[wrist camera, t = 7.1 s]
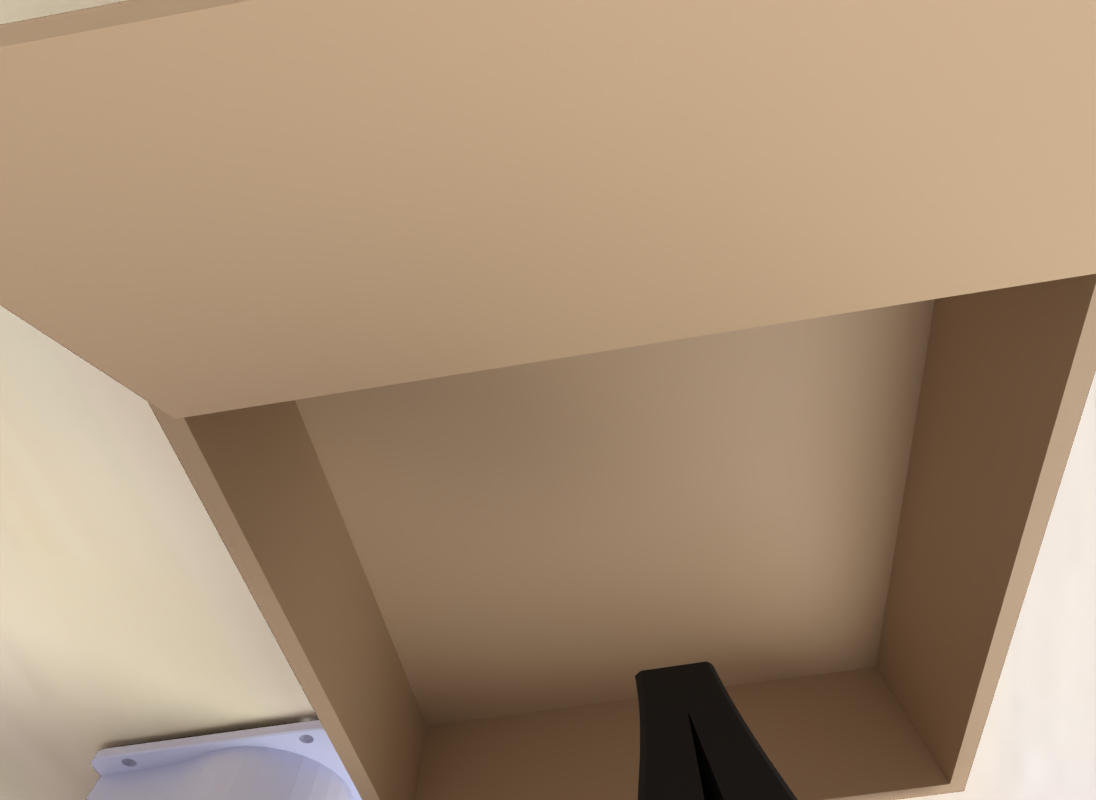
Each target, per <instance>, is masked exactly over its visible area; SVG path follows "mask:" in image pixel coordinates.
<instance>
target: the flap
mask: <svg viewBox="0 0 1096 800" xmlns="http://www.w3.org/2000/svg"><path fill="white" fill-rule="evenodd" d="M1090 274H1096V0H129V1H124V2H119V3H113V4H108V5H103V6H97V7H92V8H87V9H81V10H76V11H71V12H65V13H60V14H55V15H50V16H44V17H39V18H34V19H28V20H23V21H18V22H12V23H7V24H2V25H0V305H1V306H3V307H4V308H6V309H7V310H9V311H10V312H12V313H13V314H15V315H16V316H18V317H19V318H21V319H22V320H24V321H26V322H27V323H29V324H30V325H32V326H33V327H35V328H36V329H38V330H39V331H41V332H42V333H44V334H45V335H47V336H49V337H50V338H52V339H53V340H55V341H56V342H58V343H59V344H61V345H62V346H64V347H65V348H67V349H68V350H70V351H71V352H73V353H75V354H76V355H78V356H79V357H81V358H82V359H84V360H85V361H87V362H88V363H90V364H91V365H93V366H94V367H96V368H98V369H99V370H101V371H102V372H104V373H105V374H107V375H108V376H110V377H111V378H113V379H114V380H116V381H117V382H119V383H120V384H122V385H124V386H125V387H127V388H128V389H130V390H131V391H133V392H134V393H136V394H137V395H139V396H140V397H142V398H143V399H145V400H147V401H148V402H150V403H151V404H153V405H154V406H156V407H157V408H159V409H160V410H162V411H163V412H165V413H166V414H168V415H170V416H171V417H173V418H174V419H178V418H184V417H190V416H197V415H203V414H209V413H216V412H222V411H228V410H235V409H241V408H247V407H254V406H260V405H267V404H273V403H279V402H286V401H292V400H298V399H305V398H311V397H317V396H324V395H330V394H336V393H343V392H349V391H355V390H362V389H368V388H374V387H381V386H387V385H393V384H400V383H406V382H412V381H419V380H425V379H431V378H438V377H444V376H450V375H457V374H463V373H469V372H476V371H482V370H488V369H495V368H501V367H507V366H514V365H520V364H526V363H533V362H539V361H545V360H552V359H558V358H564V357H571V356H577V355H583V354H590V353H596V352H602V351H609V350H615V349H621V348H628V347H634V346H640V345H647V344H653V343H659V342H666V341H672V340H678V339H685V338H691V337H698V336H704V335H710V334H717V333H723V332H729V331H736V330H742V329H748V328H755V327H761V326H767V325H774V324H780V323H786V322H793V321H799V320H805V319H812V318H818V317H824V316H831V315H837V314H843V313H850V312H856V311H862V310H869V309H875V308H881V307H888V306H894V305H900V304H907V303H913V302H919V301H926V300H932V299H938V298H945V297H951V296H957V295H964V294H970V293H976V292H983V291H989V290H995V289H1002V288H1008V287H1014V286H1021V285H1027V284H1033V283H1040V282H1046V281H1052V280H1059V279H1065V278H1071V277H1078V276H1084V275H1090Z"/></svg>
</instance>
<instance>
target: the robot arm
mask: <svg viewBox="0 0 1096 800" xmlns="http://www.w3.org/2000/svg"><path fill="white" fill-rule="evenodd" d="M635 680H636V687H637V694H638V701H639V715H640V762H639V781H638V800H798V799H797V798H796V797H795V795H794V794H793V792H792V791H791V789H790V788H789V787H788V785H787V784H786V782H785V781H784V779H783V778H782V777H781V775H780V774H779V772H778V771H777V769H776V768H775V767H774V765H773V764H772V762H771V761H770V759H769V758H768V756H767V755H766V753H765V752H764V750H763V749H762V747H761V746H760V744H759V743H758V741H757V740H756V738H755V737H754V735H753V734H752V732H751V730H750V729H749V727H748V726H747V724H746V723H745V721H744V719H743V718H742V716H741V715H740V713H739V711H738V710H737V708H736V706H735V705H734V703H733V701H732V699H731V698H730V696H729V694H728V692H727V691H726V689H725V687H724V685H723V683H722V681H721V680H720V678H719V676H718V674H717V672H716V670H715V668H714V666H713V665H712V664H711V663H709V662H707V661H706V662H699V663H692V664H685V665H678V666H671V667H664V668H657V669H650V670H643V671H640V672H639V673H638V674H636V675H635ZM91 764H92V766H93V768H94V769H95V770H96V771H97V773H98V774H99V775H100V776H101V777H100V778H99V779H98V781H97V783H96V784H95V786H94V787H93V789H92V790H91V792H90V793H89V795H88V796H87V798H86V800H362V798H361V796H360V795H359V793H358V791H357V789H356V787H355V785H354V783H353V782H352V780H351V778H350V776H349V774H348V772H347V771H346V769H345V767H344V765H343V763H342V761H341V759H340V758H339V756H338V754H337V752H336V750H335V748H334V746H333V745H332V743H331V741H330V739H329V737H328V735H327V733H326V732H325V730H324V728H323V726H322V724H321V722H320V720H313V721H306V722H299V723H291V724H284V725H276V726H269V727H261V728H254V729H247V730H239V731H232V732H224V733H217V734H209V735H202V736H195V737H187V738H180V739H172V740H165V741H157V742H150V743H143V744H135V745H128V746H120V747H113V748H105V749H102V750H99V751H98V752H97V753H96V755H95V756H94V758H93V759H92V761H91Z"/></svg>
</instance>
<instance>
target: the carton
mask: <svg viewBox="0 0 1096 800" xmlns="http://www.w3.org/2000/svg"><path fill="white" fill-rule="evenodd" d="M1095 371H1096V274H1090V275H1084V276H1078V277H1071V278H1065V279H1059V280H1052V281H1046V282H1040V283H1033V284H1027V285H1021V286H1014V287H1008V288H1002V289H995V290H989V291H983V292H976V293H970V294H964V295H957V296H951V297H945V298H938V299H932V300H926V301H919V302H913V303H907V304H900V305H894V306H888V307H881V308H875V309H869V310H862V311H856V312H850V313H843V314H837V315H831V316H824V317H818V318H812V319H805V320H799V321H793V322H786V323H780V324H774V325H767V326H761V327H755V328H748V329H742V330H736V331H729V332H723V333H717V334H710V335H704V336H698V337H691V338H685V339H678V340H672V341H666V342H659V343H653V344H647V345H640V346H634V347H628V348H621V349H615V350H609V351H602V352H596V353H590V354H583V355H577V356H571V357H564V358H558V359H552V360H545V361H539V362H533V363H526V364H520V365H514V366H507V367H501V368H495V369H488V370H482V371H476V372H469V373H463V374H457V375H450V376H444V377H438V378H431V379H425V380H419V381H412V382H406V383H400V384H393V385H387V386H381V387H374V388H368V389H362V390H355V391H349V392H343V393H336V394H330V395H324V396H317V397H311V398H305V399H298V400H292V401H286V402H279V403H273V404H267V405H260V406H254V407H247V408H241V409H235V410H228V411H222V412H216V413H209V414H203V415H197V416H190V417H184V418H178V419H174V418H173V417H171V416H170V415H168V414H166V413H165V412H163V411H162V410H160V409H159V408H157V407H156V406H154V405H153V404H151V403H150V402H148V403H149V405H150V407H151V409H152V410H153V412H154V414H155V416H156V418H157V420H158V422H159V423H160V425H161V427H162V429H163V431H164V433H165V435H166V436H167V438H168V440H169V442H170V444H171V446H172V448H173V449H174V451H175V453H176V455H177V457H178V459H179V461H180V462H181V464H182V466H183V468H184V470H185V472H186V474H187V475H188V477H189V479H190V481H191V483H192V485H193V487H194V488H195V490H196V492H197V494H198V496H199V498H200V500H201V501H202V503H203V505H204V507H205V509H206V511H207V513H208V514H209V516H210V518H211V520H212V522H213V524H214V526H215V527H216V529H217V531H218V533H219V535H220V537H221V539H222V540H223V542H224V544H225V546H226V548H227V550H228V552H229V553H230V555H231V557H232V559H233V561H234V563H235V565H236V566H237V568H238V570H239V572H240V574H241V576H242V577H243V579H244V581H245V583H246V585H247V587H248V589H249V590H250V592H251V594H252V596H253V598H254V600H255V602H256V603H257V605H258V607H259V609H260V611H261V613H262V615H263V616H264V618H265V620H266V622H267V624H268V626H269V628H270V629H271V631H272V633H273V635H274V637H275V639H276V641H277V642H278V644H279V646H280V648H281V650H282V652H283V654H284V655H285V657H286V659H287V661H288V663H289V665H290V667H291V668H292V670H293V672H294V674H295V676H296V678H297V680H298V681H299V683H300V685H301V687H302V689H303V691H304V693H305V694H306V696H307V698H308V700H309V702H310V704H311V706H312V707H313V709H314V711H315V713H316V715H317V717H318V719H319V720H320V722H321V724H322V726H323V728H324V730H325V732H326V733H327V735H328V737H329V739H330V741H331V743H332V745H333V746H334V748H335V750H336V752H337V754H338V756H339V758H340V759H341V761H342V763H343V765H344V767H345V769H346V771H347V772H348V774H349V776H350V778H351V780H352V782H353V783H354V785H355V787H356V789H357V791H358V793H359V795H360V796H361V798H362V800H638V781H639V762H640V715H639V701H638V694H637V687H636V680H635V675H636V674H638V673H639V672H640V671H643V670H650V669H657V668H664V667H671V666H678V665H685V664H692V663H699V662H706V661H707V662H709V663H711V664H712V665H713V666H714V668H715V670H716V672H717V674H718V676H719V678H720V680H721V681H722V683H723V685H724V687H725V689H726V691H727V692H728V694H729V696H730V698H731V699H732V701H733V703H734V705H735V706H736V708H737V710H738V711H739V713H740V715H741V716H742V718H743V719H744V721H745V723H746V724H747V726H748V727H749V729H750V730H751V732H752V734H753V735H754V737H755V738H756V740H757V741H758V743H759V744H760V746H761V747H762V749H763V750H764V752H765V753H766V755H767V756H768V758H769V759H770V761H771V762H772V764H773V765H774V767H775V768H776V769H777V771H778V772H779V774H780V775H781V777H782V778H783V779H784V781H785V782H786V784H787V785H788V787H789V788H790V789H791V791H792V792H793V794H794V795H795V797H796V798H797V799H798V800H897V799H905V798H913V797H921V796H929V795H937V794H945V793H953V792H961V791H964V790H965V786H966V783H967V780H968V777H969V774H970V770H971V767H972V764H973V761H974V758H975V754H976V751H977V748H978V745H979V742H980V738H981V735H982V732H983V729H984V726H985V722H986V719H987V716H988V713H989V710H990V706H991V703H992V700H993V697H994V694H995V690H996V687H997V684H998V681H999V678H1000V675H1001V671H1002V668H1003V665H1004V662H1005V659H1006V655H1007V652H1008V649H1009V646H1010V643H1011V639H1012V636H1013V633H1014V630H1015V627H1016V623H1017V620H1018V617H1019V614H1020V611H1021V607H1022V604H1023V601H1024V598H1025V595H1026V591H1027V588H1028V585H1029V582H1030V579H1031V575H1032V572H1033V569H1034V566H1035V563H1036V559H1037V556H1038V553H1039V550H1040V547H1041V543H1042V540H1043V537H1044V534H1045V531H1046V528H1047V524H1048V521H1049V518H1050V515H1051V512H1052V508H1053V505H1054V502H1055V499H1056V496H1057V492H1058V489H1059V486H1060V483H1061V480H1062V476H1063V473H1064V470H1065V467H1066V464H1067V460H1068V457H1069V454H1070V451H1071V448H1072V444H1073V441H1074V438H1075V435H1076V432H1077V428H1078V425H1079V422H1080V419H1081V416H1082V412H1083V409H1084V406H1085V403H1086V400H1087V397H1088V393H1089V390H1090V387H1091V384H1092V381H1093V377H1094V374H1095Z"/></svg>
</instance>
